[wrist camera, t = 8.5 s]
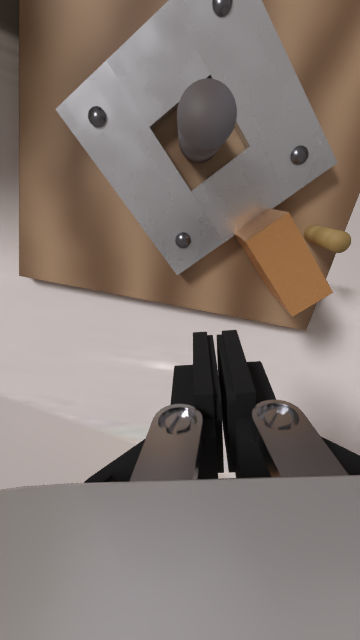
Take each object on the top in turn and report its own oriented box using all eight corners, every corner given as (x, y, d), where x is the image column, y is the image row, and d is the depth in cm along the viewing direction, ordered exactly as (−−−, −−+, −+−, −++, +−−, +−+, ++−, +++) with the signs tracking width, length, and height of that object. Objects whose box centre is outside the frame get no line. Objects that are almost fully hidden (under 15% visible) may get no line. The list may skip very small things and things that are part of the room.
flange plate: (61, 113, 22) (20, 85, 16) (229, -47, 19) (250, -149, 13) (216, 324, 28) (224, 357, 22) (362, 232, 25) (414, 243, 19)
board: (440, -40, 20) (629, -211, 11) (301, 325, 29) (348, 377, 21) (29, -157, 18) (-104, -462, 10) (25, 272, 28) (-42, 306, 19)
